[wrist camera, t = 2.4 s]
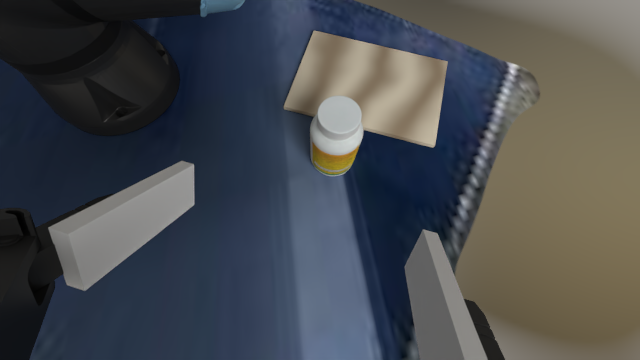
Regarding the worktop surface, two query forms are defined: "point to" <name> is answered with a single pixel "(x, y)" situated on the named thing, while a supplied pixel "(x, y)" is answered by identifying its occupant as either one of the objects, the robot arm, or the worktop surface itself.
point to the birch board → (372, 86)
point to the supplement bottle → (335, 135)
